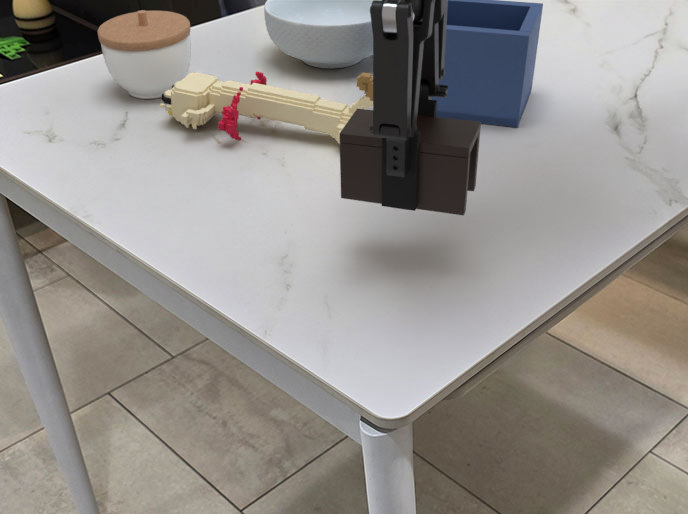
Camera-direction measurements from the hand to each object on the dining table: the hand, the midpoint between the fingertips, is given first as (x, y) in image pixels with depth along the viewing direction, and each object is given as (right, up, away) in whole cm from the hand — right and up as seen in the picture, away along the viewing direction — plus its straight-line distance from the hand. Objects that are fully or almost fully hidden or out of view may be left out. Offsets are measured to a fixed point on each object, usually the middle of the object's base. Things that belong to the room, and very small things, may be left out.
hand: (408, 188), depth 69 cm
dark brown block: (0, 0, 0) cm, 0 cm away
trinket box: (-26, +17, +35) cm, 47 cm away
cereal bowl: (-4, +22, +40) cm, 46 cm away
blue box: (+10, +14, +28) cm, 33 cm away
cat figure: (-12, +9, +24) cm, 28 cm away
